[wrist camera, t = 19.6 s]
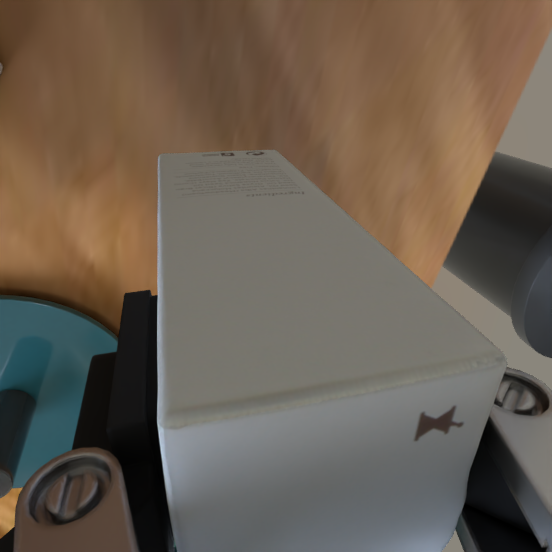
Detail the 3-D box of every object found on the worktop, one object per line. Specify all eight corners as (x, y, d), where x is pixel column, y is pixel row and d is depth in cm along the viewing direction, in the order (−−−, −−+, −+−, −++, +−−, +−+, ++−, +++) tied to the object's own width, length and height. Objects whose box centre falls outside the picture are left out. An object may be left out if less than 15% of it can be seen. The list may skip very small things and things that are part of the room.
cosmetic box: (153, 151, 14) (146, 416, 4) (276, 146, 15) (532, 350, 5) (171, 304, 17) (196, 691, 7) (274, 293, 18) (432, 616, 8)
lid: (119, 271, 24) (111, 338, 19) (157, 446, 32) (159, 532, 26) (-193, 311, 21) (-316, 407, 16) (-71, 496, 28) (-124, 607, 23)
